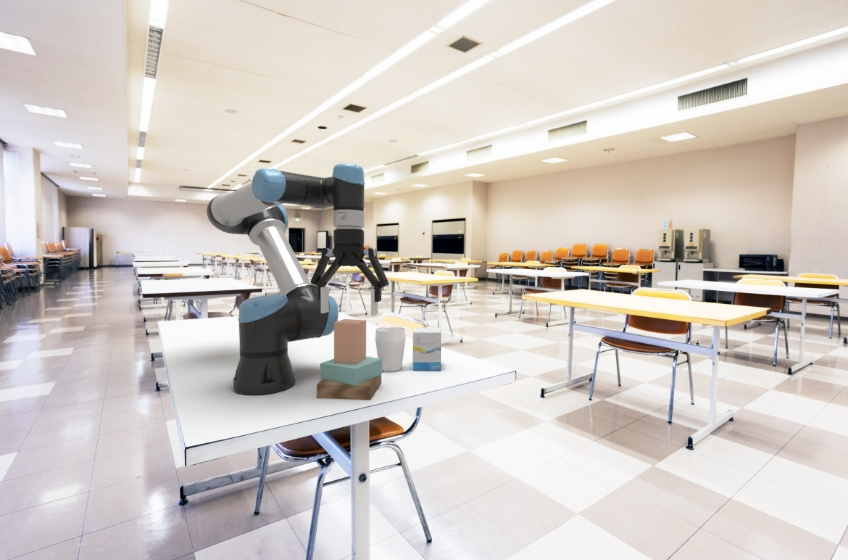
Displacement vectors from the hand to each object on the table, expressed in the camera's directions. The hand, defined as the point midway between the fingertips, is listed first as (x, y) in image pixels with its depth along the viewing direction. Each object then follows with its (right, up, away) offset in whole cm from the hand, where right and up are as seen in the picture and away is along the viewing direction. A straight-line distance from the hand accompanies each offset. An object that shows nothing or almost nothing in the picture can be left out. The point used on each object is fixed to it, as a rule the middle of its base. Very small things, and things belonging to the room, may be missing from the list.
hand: (349, 313), depth 103 cm
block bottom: (0, -20, +1) cm, 20 cm away
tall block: (0, -12, +1) cm, 12 cm away
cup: (+9, -18, +20) cm, 29 cm away
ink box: (+20, -18, +22) cm, 35 cm away
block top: (+1, -16, +1) cm, 16 cm away
